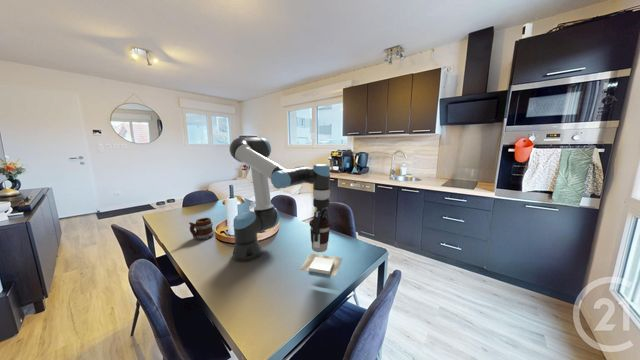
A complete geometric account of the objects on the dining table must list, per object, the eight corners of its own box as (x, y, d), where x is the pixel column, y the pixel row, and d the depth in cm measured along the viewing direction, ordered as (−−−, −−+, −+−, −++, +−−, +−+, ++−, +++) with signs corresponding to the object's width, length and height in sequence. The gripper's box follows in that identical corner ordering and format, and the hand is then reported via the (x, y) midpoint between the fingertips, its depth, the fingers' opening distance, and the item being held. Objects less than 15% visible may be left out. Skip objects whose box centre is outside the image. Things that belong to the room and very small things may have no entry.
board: (299, 271, 105) (299, 269, 105) (310, 255, 120) (310, 253, 120) (335, 278, 100) (335, 275, 99) (342, 260, 115) (342, 258, 114)
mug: (219, 234, 148) (214, 214, 143) (200, 246, 136) (193, 225, 132) (209, 230, 154) (203, 211, 149) (189, 242, 142) (182, 222, 137)
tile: (315, 260, 112) (308, 271, 103) (315, 256, 112) (308, 267, 103) (334, 263, 110) (329, 275, 100) (334, 259, 109) (329, 271, 100)
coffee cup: (328, 255, 97) (329, 223, 95) (306, 252, 99) (307, 221, 97) (331, 245, 106) (332, 216, 104) (311, 243, 108) (312, 214, 106)
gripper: (321, 206, 87) (321, 254, 92) (335, 192, 111) (334, 231, 115) (304, 204, 90) (304, 252, 94) (321, 191, 113) (320, 229, 117)
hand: (320, 240), depth 104 cm, fingers open, 13 cm apart
